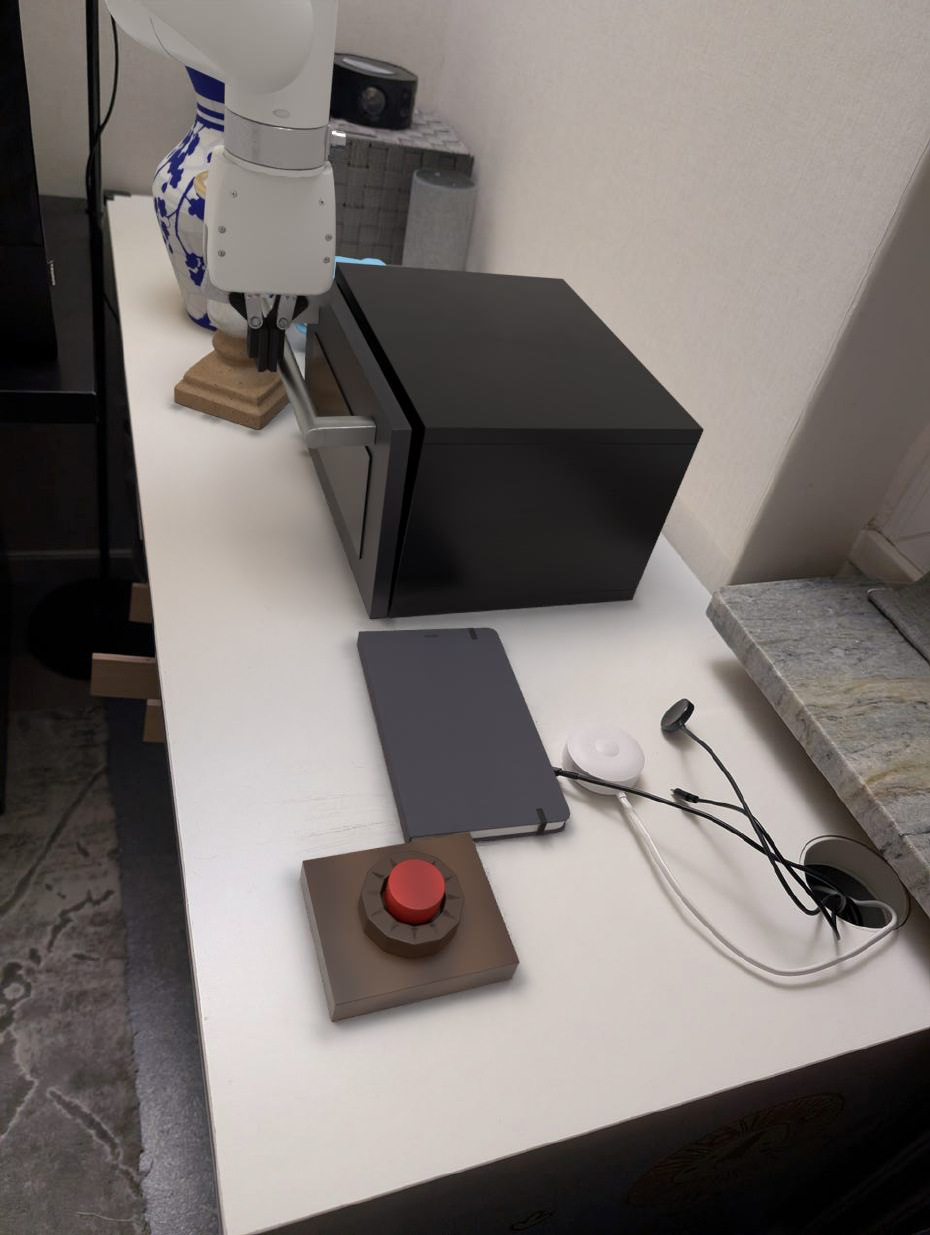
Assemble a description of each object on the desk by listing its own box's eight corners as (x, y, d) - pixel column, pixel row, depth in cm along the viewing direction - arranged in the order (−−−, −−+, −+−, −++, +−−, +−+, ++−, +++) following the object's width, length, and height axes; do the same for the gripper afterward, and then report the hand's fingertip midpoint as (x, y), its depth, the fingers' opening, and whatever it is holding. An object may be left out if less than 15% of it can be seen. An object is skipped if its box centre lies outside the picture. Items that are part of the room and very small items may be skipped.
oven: (389, 618, 82) (425, 427, 69) (317, 433, 104) (335, 261, 91) (632, 600, 92) (704, 429, 79) (520, 434, 113) (563, 278, 100)
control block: (331, 1021, 54) (338, 990, 52) (299, 878, 61) (304, 844, 58) (512, 978, 58) (527, 947, 56) (464, 849, 65) (475, 816, 63)
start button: (392, 929, 55) (397, 914, 54) (378, 879, 58) (382, 863, 57) (447, 918, 57) (452, 903, 56) (430, 869, 59) (435, 854, 58)
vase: (176, 350, 112) (172, 80, 92) (140, 285, 123) (130, 33, 104) (320, 345, 121) (344, 97, 101) (274, 285, 132) (288, 52, 113)
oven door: (305, 625, 80) (315, 432, 67) (249, 433, 101) (249, 259, 88) (386, 616, 82) (412, 428, 69) (315, 431, 104) (325, 262, 91)
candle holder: (217, 365, 111) (221, 159, 96) (299, 392, 110) (317, 188, 95) (171, 401, 103) (168, 182, 87) (260, 430, 102) (272, 214, 86)
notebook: (356, 643, 79) (406, 849, 64) (358, 630, 78) (410, 837, 63) (491, 638, 83) (568, 831, 68) (495, 626, 82) (574, 819, 67)
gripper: (360, 136, 72) (337, 347, 84) (166, 113, 67) (171, 342, 79) (384, 167, 67) (356, 387, 79) (177, 145, 62) (180, 385, 74)
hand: (264, 364), depth 79 cm, fingers closed
